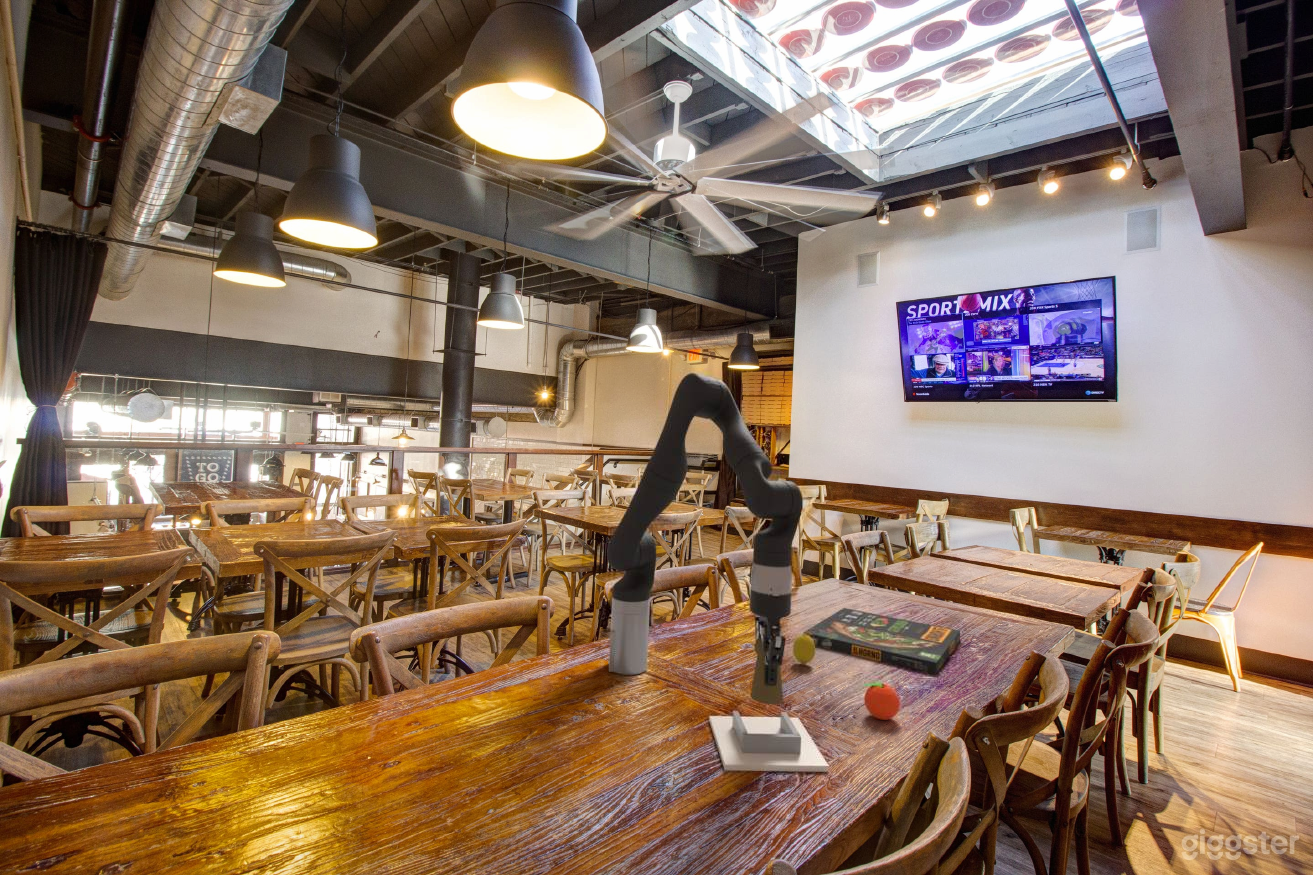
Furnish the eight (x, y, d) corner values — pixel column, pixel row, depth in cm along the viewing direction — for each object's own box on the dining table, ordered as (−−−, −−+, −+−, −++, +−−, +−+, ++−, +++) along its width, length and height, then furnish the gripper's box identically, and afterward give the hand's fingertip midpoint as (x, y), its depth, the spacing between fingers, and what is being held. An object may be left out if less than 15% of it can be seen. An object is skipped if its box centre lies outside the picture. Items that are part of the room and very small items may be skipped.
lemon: (810, 670, 150) (812, 638, 150) (789, 665, 152) (790, 633, 153) (817, 664, 154) (818, 633, 154) (796, 659, 157) (797, 628, 157)
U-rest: (724, 770, 102) (725, 746, 102) (709, 720, 120) (710, 700, 120) (828, 771, 103) (829, 748, 103) (797, 722, 121) (798, 702, 121)
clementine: (857, 720, 123) (858, 685, 123) (859, 706, 130) (860, 674, 130) (899, 728, 120) (900, 693, 120) (899, 714, 127) (900, 680, 127)
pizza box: (843, 618, 200) (843, 607, 200) (959, 642, 179) (960, 630, 179) (803, 644, 171) (803, 631, 171) (935, 676, 151) (936, 662, 151)
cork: (786, 694, 113) (789, 636, 113) (779, 706, 107) (781, 645, 108) (755, 687, 116) (757, 630, 116) (746, 699, 110) (748, 639, 110)
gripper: (743, 578, 119) (739, 665, 118) (759, 597, 104) (755, 695, 104) (780, 579, 119) (777, 666, 119) (802, 598, 105) (798, 696, 105)
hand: (767, 679), depth 111 cm, fingers closed on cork, 4 cm apart
